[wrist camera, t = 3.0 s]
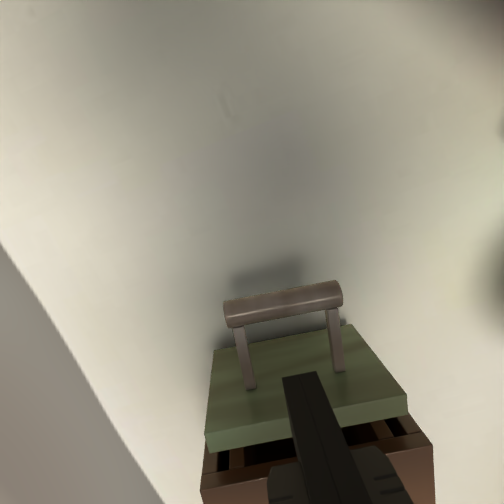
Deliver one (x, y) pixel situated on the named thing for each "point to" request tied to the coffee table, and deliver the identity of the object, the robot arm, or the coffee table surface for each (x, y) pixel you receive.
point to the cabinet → (255, 477)
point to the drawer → (292, 363)
